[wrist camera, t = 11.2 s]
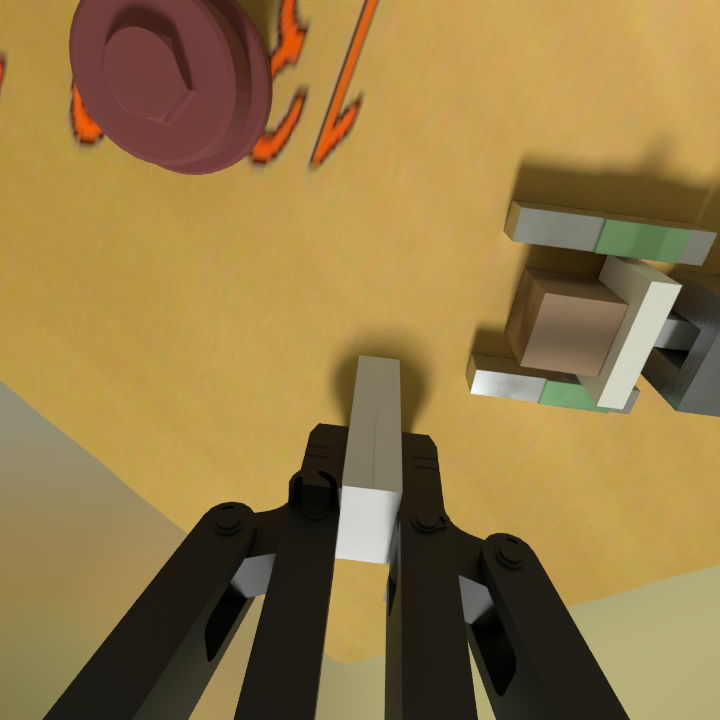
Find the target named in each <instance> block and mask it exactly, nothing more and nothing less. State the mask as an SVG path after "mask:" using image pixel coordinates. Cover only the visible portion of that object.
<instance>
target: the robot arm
mask: <svg viewBox="0 0 720 720" xmlns="http://www.w3.org/2000/svg"><path fill="white" fill-rule="evenodd" d="M389 557H390V571H389V576H388V581H387V585H386V590H385V595H384V600H383V601H387V607H386V664H385V665H386V667H385V720H478V716H477V709H476V701H475V694H474V686H473V679H472V671H471V664H470V656H469V649H468V643H469V646H470V649H471V651H472V654H473V657H474V660H475V662H476V665H477V668H478V671H479V673H480V676H481V679H482V682H483V685H484V687H485V690H486V693H487V696H488V699H489V701H490V704H491V707H492V710H493V712H494V715H495V718H496V720H630V719H629V718H628V715H627V714H626V712H625V711H624V708H623V707H622V705H621V703H620V701H619V700H618V698H617V696H616V694H615V693H614V691H613V689H612V688H611V686H610V684H609V682H608V681H607V679H606V677H605V675H604V673H603V672H602V670H601V668H600V666H599V665H598V663H597V661H596V659H595V658H594V656H593V654H592V652H591V651H590V649H589V647H588V645H587V644H586V642H585V640H584V638H583V637H582V635H581V633H580V631H579V630H578V628H577V626H576V624H575V623H574V621H573V619H572V617H571V616H570V614H569V612H568V611H567V609H566V607H565V605H564V603H563V602H562V600H561V598H560V596H559V594H558V593H557V591H556V589H555V587H554V586H553V584H552V582H551V580H550V579H549V577H548V575H547V573H546V572H545V570H544V568H543V566H542V565H541V563H540V561H539V559H538V558H537V556H536V554H535V553H534V551H533V550H532V549H531V548H530V546H529V545H528V544H527V543H525V542H524V541H522V540H521V539H520V538H518V537H515V536H513V535H510V534H506V533H496V534H492V535H490V536H489V537H487V538H486V539H485V540H482V539H480V538H478V537H475V536H473V535H470V534H468V533H466V532H464V531H462V530H460V529H459V528H458V527H456V526H455V525H454V524H453V523H452V522H451V521H450V518H449V517H448V515H447V514H446V512H445V509H444V503H443V495H442V486H441V478H440V471H439V462H438V454H437V447H436V445H435V444H434V442H433V441H432V439H431V438H430V436H429V435H422V434H414V433H405V432H401V399H400V360H398V359H389V358H381V357H372V356H364V355H359V361H358V368H357V375H356V383H355V390H354V398H353V405H352V412H351V420H350V427H346V426H338V425H330V424H321V423H319V424H318V425H317V426H316V427H315V428H314V429H313V430H312V431H311V432H310V435H309V439H308V443H307V447H306V451H305V456H304V459H303V463H302V467H301V470H299V471H298V472H297V473H295V474H294V475H293V476H292V478H291V480H290V481H289V499H288V502H287V503H286V504H285V505H283V506H281V507H279V508H277V509H274V510H270V511H265V512H258V513H254V512H253V511H252V509H251V508H250V507H248V506H247V505H245V504H243V503H238V502H227V503H221V504H219V505H217V506H215V507H212V508H211V509H210V510H209V511H208V512H207V513H205V514H204V516H203V517H202V518H201V519H200V521H199V522H198V523H197V524H196V526H195V527H194V528H193V529H192V531H191V532H190V533H189V535H188V536H187V537H186V538H185V540H184V541H183V542H182V543H181V545H180V546H179V547H178V548H177V550H176V551H175V552H174V554H173V555H172V556H171V557H170V559H169V560H168V561H167V563H166V564H165V565H164V566H163V568H162V569H161V570H160V571H159V573H158V574H157V575H156V576H155V578H154V579H153V580H152V581H151V583H150V584H149V585H148V586H147V588H146V589H145V590H144V592H143V593H142V594H141V595H140V597H139V598H138V599H137V600H136V602H135V603H134V604H133V605H132V607H131V608H130V609H129V611H128V612H127V613H126V614H125V616H124V617H123V618H122V619H121V621H120V622H119V623H118V625H117V626H116V627H115V628H114V630H113V631H112V632H111V633H110V635H109V636H108V637H107V638H106V640H105V641H104V642H103V643H102V645H101V646H100V647H99V648H98V650H97V651H96V652H95V654H94V655H93V656H92V657H91V659H90V660H89V661H88V663H87V664H86V665H85V666H84V667H83V669H82V670H81V671H80V673H79V674H78V675H77V676H76V678H75V679H74V680H73V682H72V683H71V684H70V685H69V687H68V688H67V689H66V690H65V692H64V693H63V694H62V696H61V697H60V698H59V699H58V700H57V702H56V703H55V704H54V705H53V707H52V708H51V709H50V711H49V712H48V713H47V714H46V716H45V717H44V718H43V720H188V719H189V717H190V715H191V714H192V712H193V710H194V708H195V706H196V704H197V703H198V701H199V699H200V697H201V695H202V694H203V692H204V690H205V688H206V686H207V685H208V682H209V681H210V679H211V677H212V675H213V673H214V672H215V670H216V668H217V666H218V664H219V663H220V661H221V659H222V657H223V655H224V653H225V652H226V650H227V648H228V646H229V644H230V642H231V641H232V639H233V637H234V635H235V633H236V632H237V630H238V628H239V626H240V624H241V622H242V620H243V619H244V617H245V615H246V613H247V612H248V610H249V608H250V606H251V604H252V603H253V601H254V599H255V596H257V595H263V594H266V595H265V599H264V603H263V607H262V611H261V615H260V619H259V622H258V626H257V630H256V634H255V638H254V642H253V646H252V650H251V654H250V658H249V662H248V665H247V669H246V673H245V677H244V681H243V685H242V689H241V693H240V697H239V701H238V705H237V708H236V712H235V716H234V720H315V715H316V708H317V700H318V692H319V684H320V676H321V668H322V660H323V652H324V644H325V636H326V628H327V620H328V612H329V604H330V596H331V588H332V580H333V571H334V562H335V558H341V559H349V560H357V561H365V562H374V563H382V564H388V562H389ZM467 640H468V641H467Z"/></svg>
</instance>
